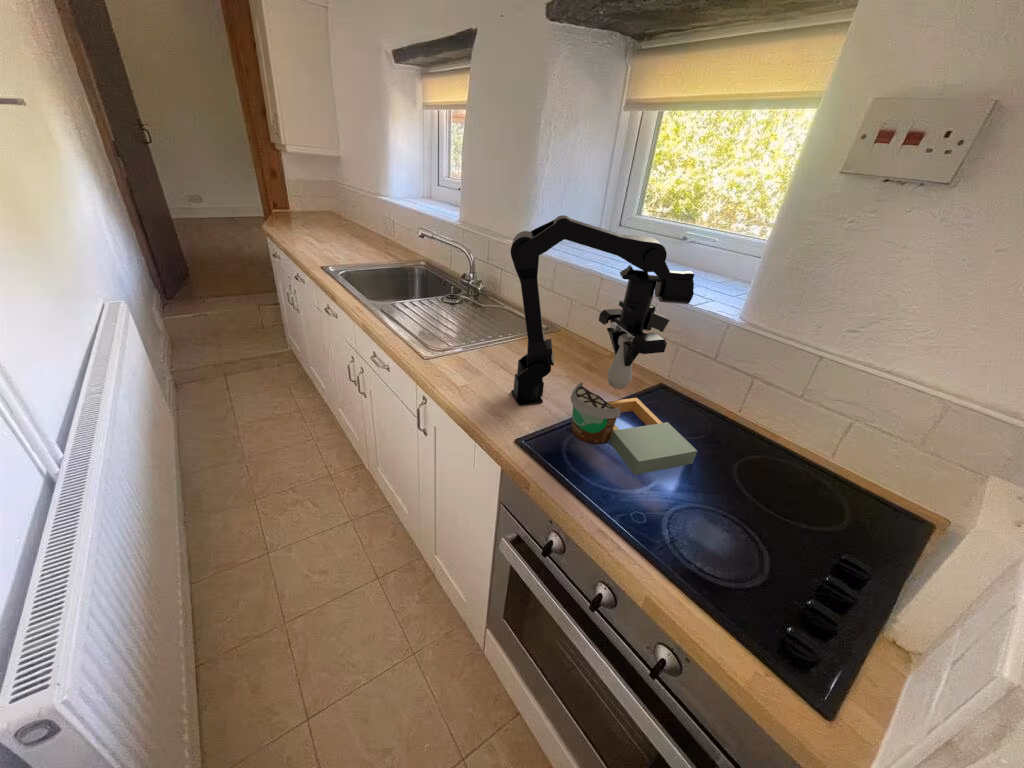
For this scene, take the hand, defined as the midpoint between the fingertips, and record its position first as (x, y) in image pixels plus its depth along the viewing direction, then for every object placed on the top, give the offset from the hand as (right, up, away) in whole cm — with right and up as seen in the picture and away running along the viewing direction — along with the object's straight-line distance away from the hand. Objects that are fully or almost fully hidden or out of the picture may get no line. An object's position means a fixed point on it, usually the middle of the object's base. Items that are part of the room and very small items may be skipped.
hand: (622, 363), depth 96 cm
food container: (-10, -17, -5) cm, 20 cm away
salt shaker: (0, -5, +3) cm, 6 cm away
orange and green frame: (+2, -17, -5) cm, 18 cm away
